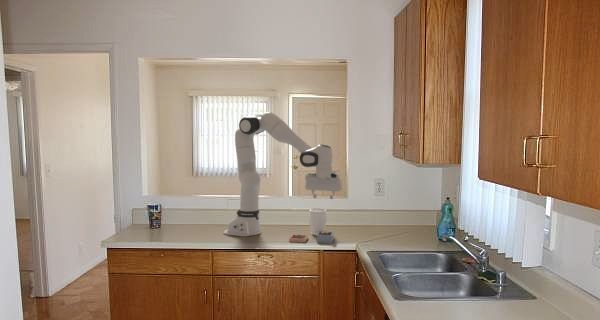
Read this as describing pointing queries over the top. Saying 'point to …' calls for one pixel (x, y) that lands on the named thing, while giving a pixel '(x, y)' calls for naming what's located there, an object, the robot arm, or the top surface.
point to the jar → (317, 220)
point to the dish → (294, 239)
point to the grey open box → (325, 238)
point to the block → (324, 233)
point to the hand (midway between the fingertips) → (323, 198)
